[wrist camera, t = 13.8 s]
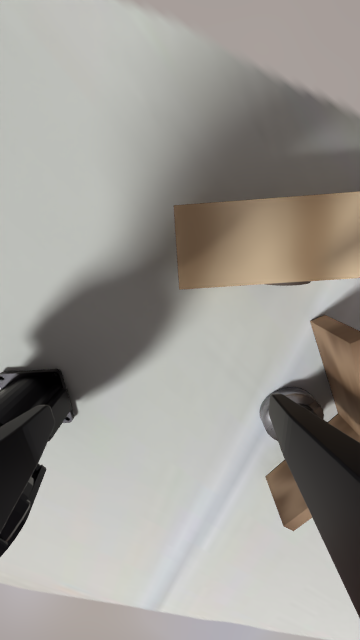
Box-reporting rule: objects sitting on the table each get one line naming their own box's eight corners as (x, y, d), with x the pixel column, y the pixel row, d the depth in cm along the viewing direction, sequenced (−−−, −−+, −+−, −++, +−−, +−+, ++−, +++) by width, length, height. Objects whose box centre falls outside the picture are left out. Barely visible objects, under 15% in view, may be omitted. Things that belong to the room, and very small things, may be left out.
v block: (264, 480, 27) (282, 530, 22) (312, 314, 20) (353, 334, 15) (326, 484, 27) (357, 534, 22) (396, 320, 20) (463, 342, 15)
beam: (180, 283, 19) (179, 294, 14) (175, 217, 17) (173, 205, 13) (362, 271, 19) (425, 279, 14) (376, 202, 17) (453, 184, 12)
